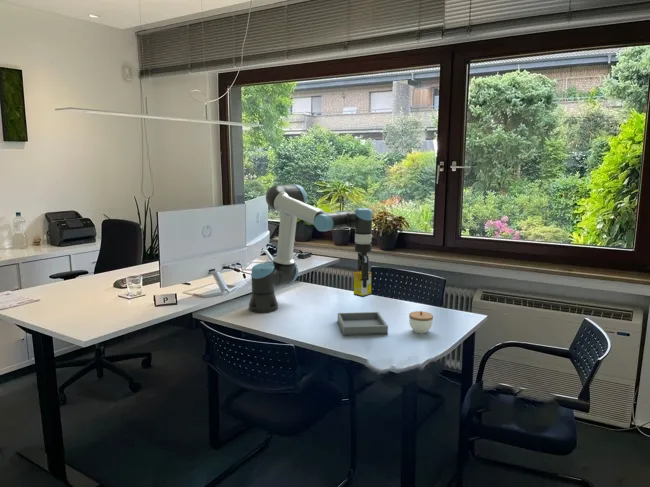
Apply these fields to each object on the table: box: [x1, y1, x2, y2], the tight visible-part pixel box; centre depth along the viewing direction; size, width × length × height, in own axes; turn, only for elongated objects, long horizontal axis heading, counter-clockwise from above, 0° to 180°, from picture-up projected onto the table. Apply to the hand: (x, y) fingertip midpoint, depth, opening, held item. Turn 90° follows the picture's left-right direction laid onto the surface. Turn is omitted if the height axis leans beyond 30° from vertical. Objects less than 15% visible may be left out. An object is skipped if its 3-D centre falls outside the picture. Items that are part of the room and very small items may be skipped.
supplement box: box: [353, 270, 372, 298], centre depth 224 cm, size 6×6×11 cm
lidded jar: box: [408, 310, 434, 334], centre depth 223 cm, size 11×11×9 cm
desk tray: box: [337, 311, 389, 337], centre depth 228 cm, size 20×20×4 cm
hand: (362, 291), depth 225 cm, fingers closed on supplement box, 8 cm apart
